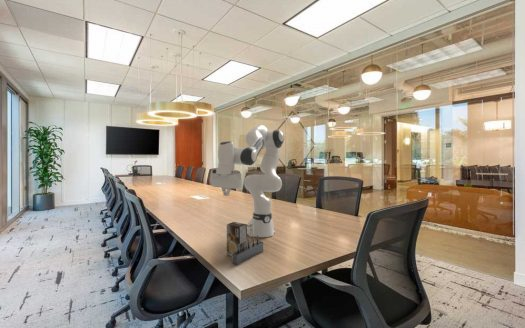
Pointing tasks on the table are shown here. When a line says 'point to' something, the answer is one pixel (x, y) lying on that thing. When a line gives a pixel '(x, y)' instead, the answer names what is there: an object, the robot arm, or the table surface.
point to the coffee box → (236, 237)
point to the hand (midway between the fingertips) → (226, 195)
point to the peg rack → (247, 251)
